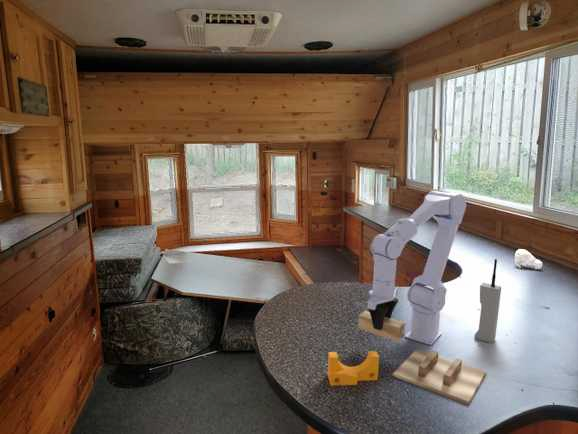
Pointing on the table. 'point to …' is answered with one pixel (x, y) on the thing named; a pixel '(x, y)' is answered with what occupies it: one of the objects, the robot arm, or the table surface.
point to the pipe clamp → (352, 370)
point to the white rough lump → (526, 259)
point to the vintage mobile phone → (489, 309)
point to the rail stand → (441, 375)
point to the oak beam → (389, 330)
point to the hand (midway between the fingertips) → (381, 326)
